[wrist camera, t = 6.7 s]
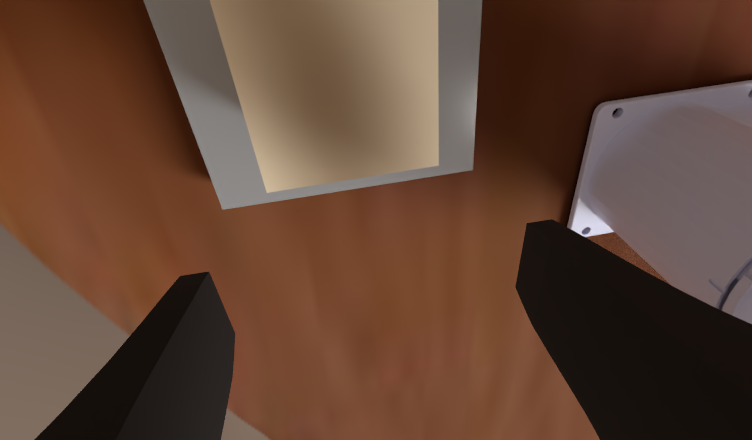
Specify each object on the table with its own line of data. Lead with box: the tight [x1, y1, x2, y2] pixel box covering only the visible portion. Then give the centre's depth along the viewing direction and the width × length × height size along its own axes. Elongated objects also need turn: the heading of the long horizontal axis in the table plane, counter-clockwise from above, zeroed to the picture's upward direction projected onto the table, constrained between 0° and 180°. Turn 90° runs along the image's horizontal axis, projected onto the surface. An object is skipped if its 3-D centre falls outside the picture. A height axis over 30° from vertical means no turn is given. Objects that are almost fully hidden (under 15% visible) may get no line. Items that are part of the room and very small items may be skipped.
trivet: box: [143, 0, 482, 210], centre depth 15 cm, size 11×11×2 cm
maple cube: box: [210, 0, 439, 193], centre depth 12 cm, size 5×5×5 cm
